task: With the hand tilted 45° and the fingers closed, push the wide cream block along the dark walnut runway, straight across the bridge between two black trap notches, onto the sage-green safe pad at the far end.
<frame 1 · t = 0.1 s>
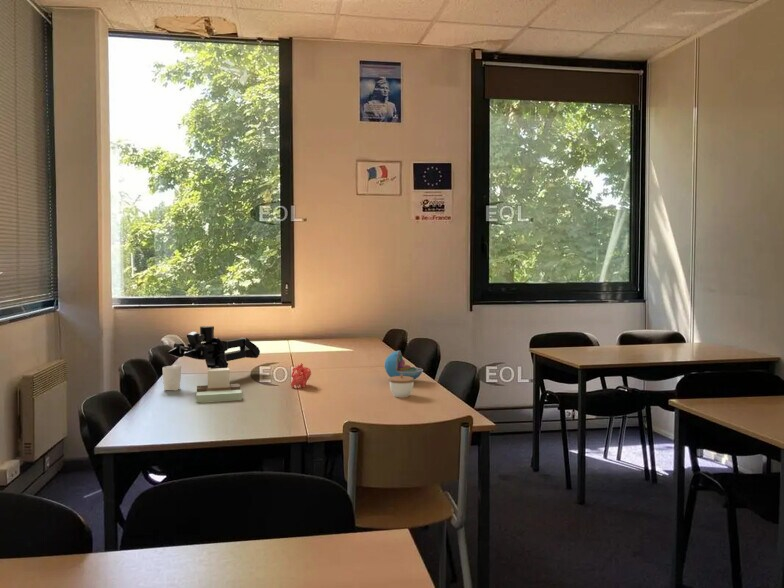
hand: (175, 353, 266), 17 cm above the table, tool horizontal, fingers open, 9 cm apart
white cup: (172, 389, 270), on the table
safe pad: (219, 399, 251), on the table
anatomical heart: (301, 386, 278), on the table
educational model: (403, 381, 292), on the table
lidded jar: (401, 396, 261), on the table
walnut runway: (218, 394, 260), on the table
cream block: (218, 386, 263), point 3 cm above the table, touching walnut runway
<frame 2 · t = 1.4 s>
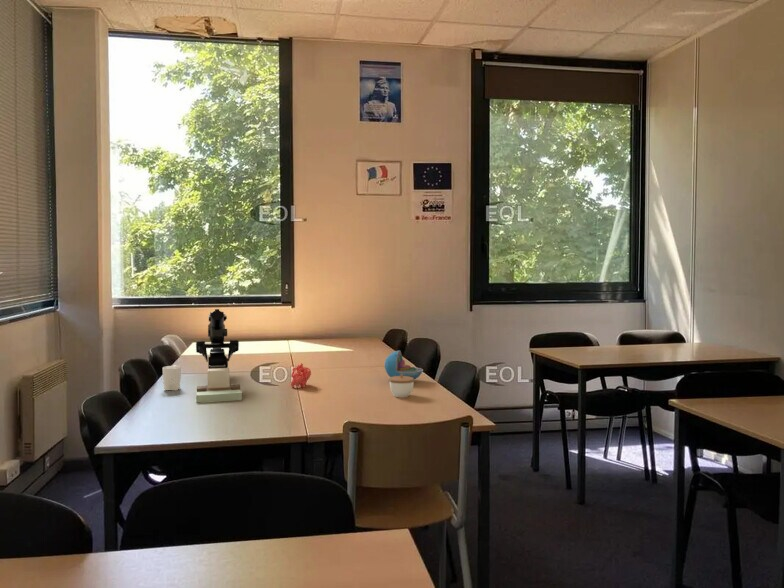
hand: (217, 361, 271), 13 cm above the table, tool tilted 45°, fingers open, 9 cm apart
nothing on the table moved.
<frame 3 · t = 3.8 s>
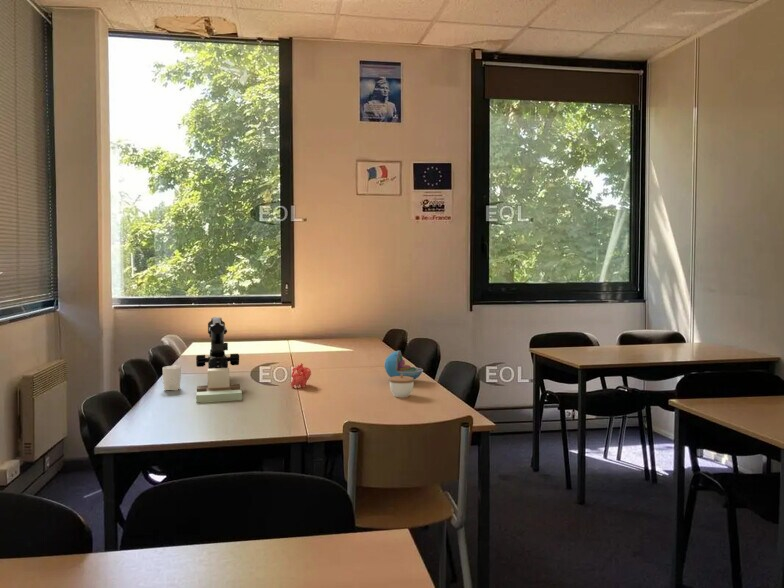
hand: (218, 375, 269), 7 cm above the table, tool tilted 45°, fingers closed
nothing on the table moved.
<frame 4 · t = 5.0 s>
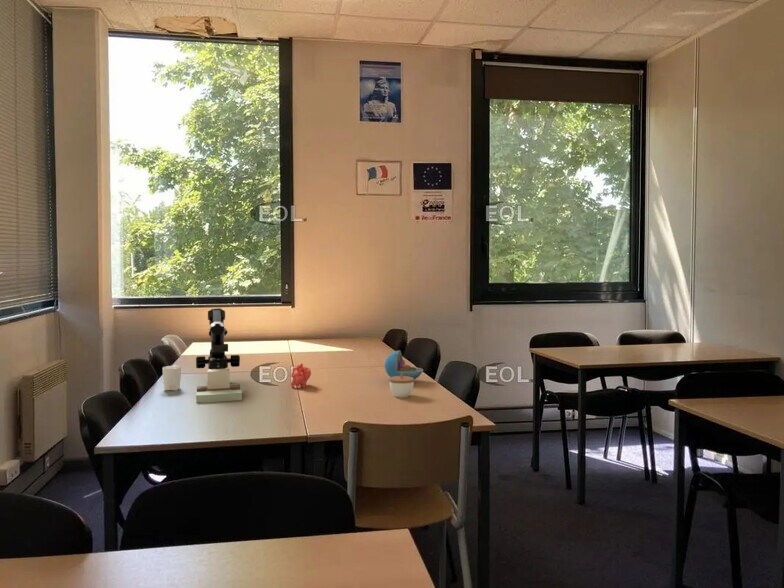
hand: (218, 377, 264), 7 cm above the table, tool tilted 45°, fingers closed, pressing on cream block
cream block: (218, 387, 261), point 3 cm above the table, touching gripper
everything else where it was.
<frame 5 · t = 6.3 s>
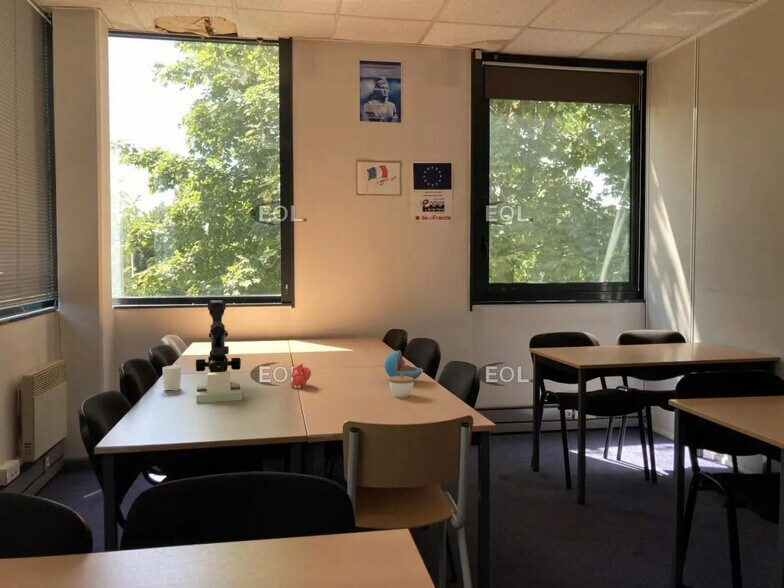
hand: (218, 380, 257), 7 cm above the table, tool tilted 45°, fingers closed, pressing on cream block
cream block: (218, 390, 254), point 3 cm above the table, touching gripper
everything else where it was.
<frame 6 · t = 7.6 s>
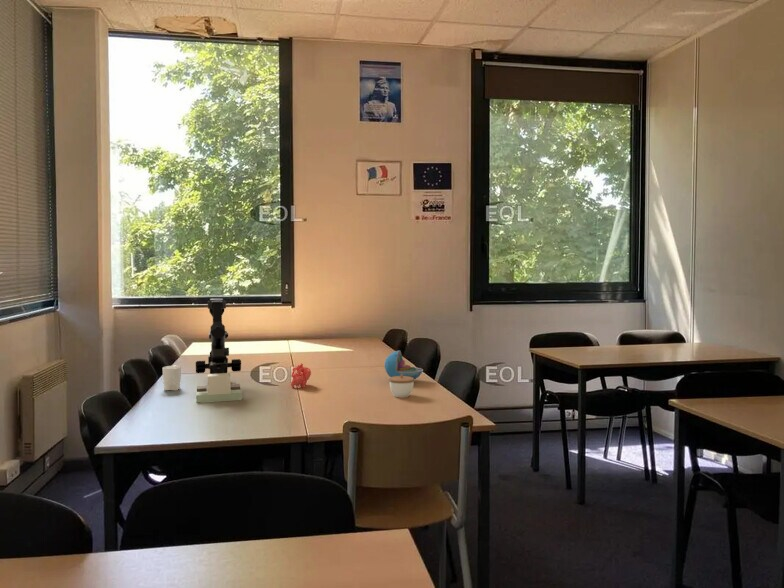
hand: (218, 382, 254), 7 cm above the table, tool tilted 45°, fingers closed, pressing on cream block
cream block: (219, 392, 251), point 3 cm above the table, touching gripper, safe pad
everything else where it was.
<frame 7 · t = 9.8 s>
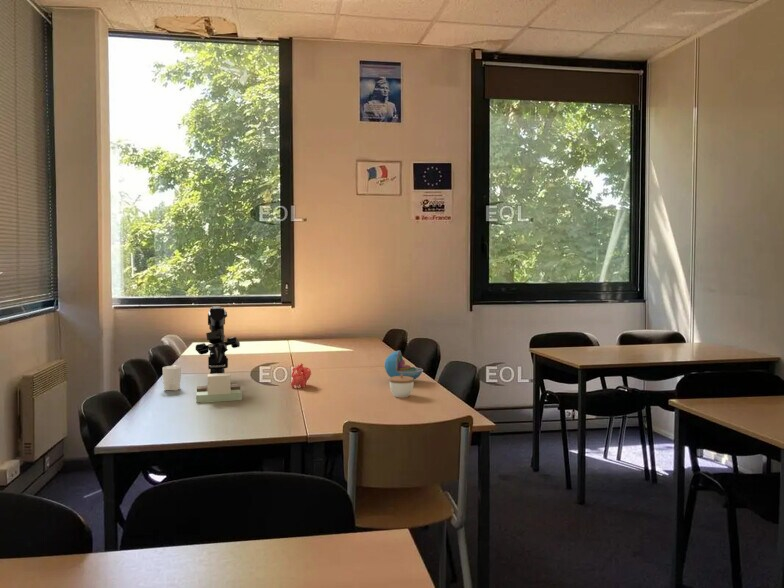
hand: (218, 362, 269), 12 cm above the table, tool tilted 35°, fingers closed
cream block: (219, 392, 251), point 3 cm above the table, touching safe pad
everything else where it was.
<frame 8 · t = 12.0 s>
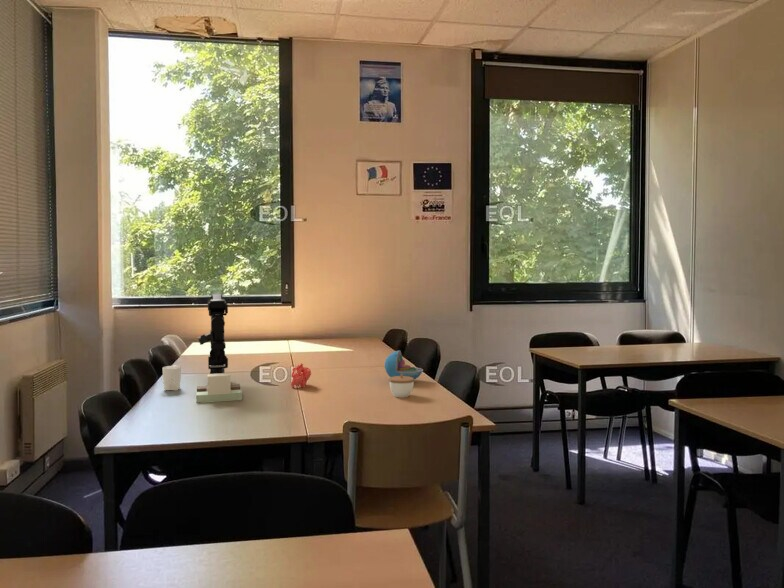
hand: (217, 361, 272), 12 cm above the table, tool pointing down, fingers closed
nothing on the table moved.
at the end: cream block 0.2 cm from the safe pad (horizontally); cream block point 3.0 cm above the table; cream block tilted 0° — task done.
